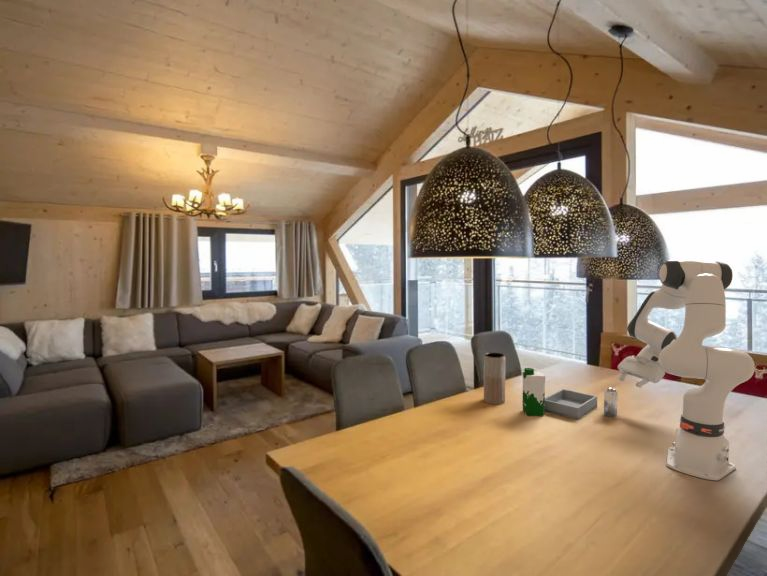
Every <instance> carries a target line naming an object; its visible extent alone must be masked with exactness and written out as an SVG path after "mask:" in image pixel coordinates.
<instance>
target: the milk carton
mask: <svg viewBox="0 0 767 576" xmlns="http://www.w3.org/2000/svg"><path fill="white" fill-rule="evenodd" d="M545 395H546V375H545V374H544V373H542V372H541V371H535V369H534V368H531V367H524V370H523V371H522V411H523V412H524V414H525V415H526V416H527V417H544V416H545V411H544V405H545V398H546V396H545Z"/></svg>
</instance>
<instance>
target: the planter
mask: <svg viewBox="0 0 767 576" xmlns="http://www.w3.org/2000/svg"><path fill="white" fill-rule="evenodd" d="M506 362H507V361H506V354H505V353H502V352H501V353H500V352H486V353H484V354H483V401H484V402H485V403H487V404H490V405H502V404H504V403H505V402H506Z"/></svg>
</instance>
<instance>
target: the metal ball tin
mask: <svg viewBox="0 0 767 576" xmlns="http://www.w3.org/2000/svg"><path fill="white" fill-rule="evenodd" d="M618 395H619V391H618V390H616V388H613V387H608V388H605V389H604V391H603V416H604V417H607V418H612V419H613V418H614V419H615V418H617V417H618V400H619V399H618Z"/></svg>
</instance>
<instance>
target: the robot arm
mask: <svg viewBox="0 0 767 576" xmlns="http://www.w3.org/2000/svg"><path fill="white" fill-rule="evenodd" d="M658 276H659V280H660V283H661V287H660V288H659V289H653V290H652V291H651V292H649V294H647V296H646V297H645V299H644V300H643V302H642V303H641V305H640V307H639V308H638V310H637V311H636V313H635V314H634V316H633V317H632V319H631V320H630V321H629V323H628V324H627V327H626V329H627V333H628V336H630V337H632V338H634V339H636V340H639V341H641V342H643V344H644V343H645V344H646V345H645V346H643V348H642V349H641V350H640V351H639V353H637V355H636V356H635V355H629V356H626V357H625V358H623V359H622V361H620V363H618V365H617V369H618V371H620V376H619V378H618V380H619V381H621V382H625V381H626V378H625V377H626V376H628V375H630V376H631V377H635V378H638V379H641V380H640V381H637V382H636V383H635V386H636V388H637V387H638V388H640V389H641V388H642V387H643V386H644V385H647V384H648V383H652V384H657V383H659V382H660V381H661V380H662V379H663V378H664V376H665V375H666V374H670V375H673V376H677V377H679V378H680V377H681V378H689V379H690V378H691V379H699V380H705V381H704V383H703V384H702V385H699V386H698V387H693V388H690V389H688V390H687V391H686V392H685V393H684V394H683V396H682V413H681V415H680V419H679V423H680V424H679V427H677V428H676V429H675V441H673V442H672V446H670V447H667V453H666V467H668V468H669V469H672V470H674V471H676V472H677V471H678V472H680V473H683V474H686V475H690V476H691V477H692V476H693V477H697V478H700V479H704V480H708V481H709V480H710V481H719V480H721V479H723V478H724V477H726V476H727V475H729V474H730V473H732V472H733V471H734V470H736V468H737V467H736V464H734V463H733V462H731V461H730V441H729V440H728V439H727V438H726V437H725V435H724V434H725V422H724V410H725V406H726V405H725V404H726V399H727V397H728V396H729V394H730V393H731V392H732V391H733V390H734V389H735V388H736V387H737V386H739V385H740V384H742V383H745V382H748V381H749V380H750V379H751V378H752V377H753V375H754V373H755V370H756V366H755V365H756V364H755V362H754V360H753V359H754V358H752V357H751V355H750V354H749V353H747V352H746V351H742V350H737V349H733V348H727V347H717V346H715V347H714V346H705V345H703V341H704V340H705V339H708V338H711V337H714V336H717V335H719V334H721V333H722V332H723V331H724V330H725V329H726V324H727V322H726V320H727V319H726V312H727V311H726V308H727V307H726V305H727V304H726V294H725V293H726V292H725V290H726V289H727V288H728V287H730V285H731V283H732V281H733V270H732V268H731V266H730V264H727V263H724V262H720V261H711V260H710V261H708V260H699V259H691V258H690V259H676V258H673V259H667V260H665V261H664V262H663V263H662V264H661V266H660V268H659V275H658ZM654 308H656V309H666V310H680V309H683V308H685V312H684V313H685V315H684V323H683V328H682V330H681V332H680V334H679V335H677V333H675V331H673V330H672V329H670V328H667V327H664V326H663V325H661V324H658V323H656V322H654V321H652V320H650V319H649V318H648V317H649V315H650V314H651V312H652V311H653V309H654Z"/></svg>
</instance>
